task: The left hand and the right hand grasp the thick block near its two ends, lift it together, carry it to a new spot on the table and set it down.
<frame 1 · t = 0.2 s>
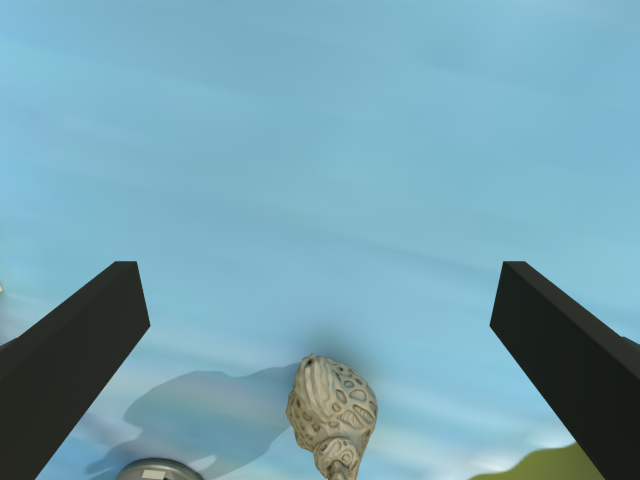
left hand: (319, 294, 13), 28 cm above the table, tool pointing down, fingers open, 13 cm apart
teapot: (332, 381, 50), on the table
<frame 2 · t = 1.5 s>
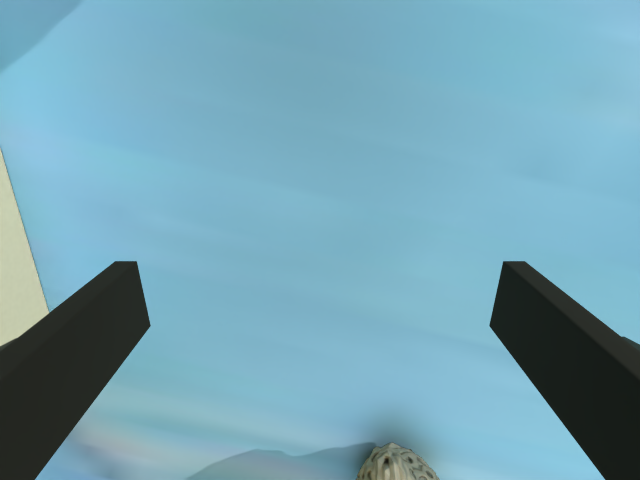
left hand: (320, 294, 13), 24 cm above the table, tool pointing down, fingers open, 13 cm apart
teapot: (391, 461, 50), on the table
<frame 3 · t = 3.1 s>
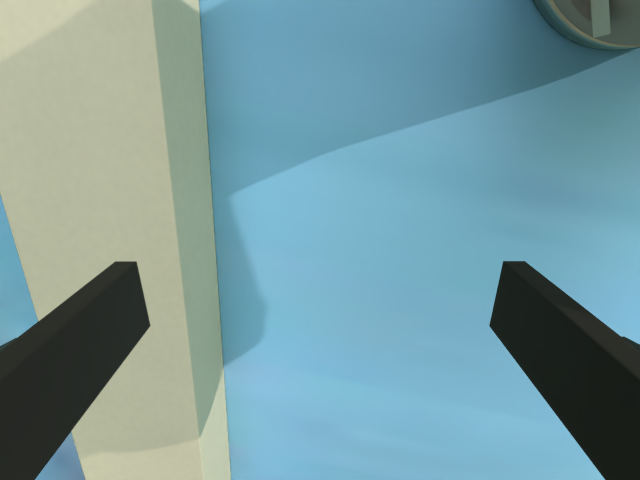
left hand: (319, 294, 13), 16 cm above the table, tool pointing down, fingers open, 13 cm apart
thick block: (168, 333, 32), on the table, touching right hand
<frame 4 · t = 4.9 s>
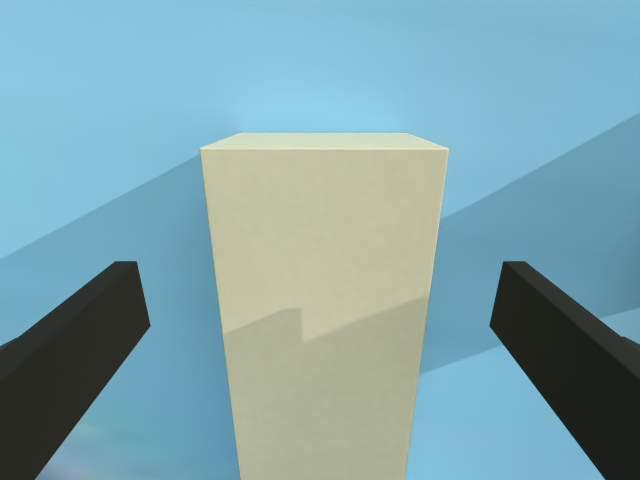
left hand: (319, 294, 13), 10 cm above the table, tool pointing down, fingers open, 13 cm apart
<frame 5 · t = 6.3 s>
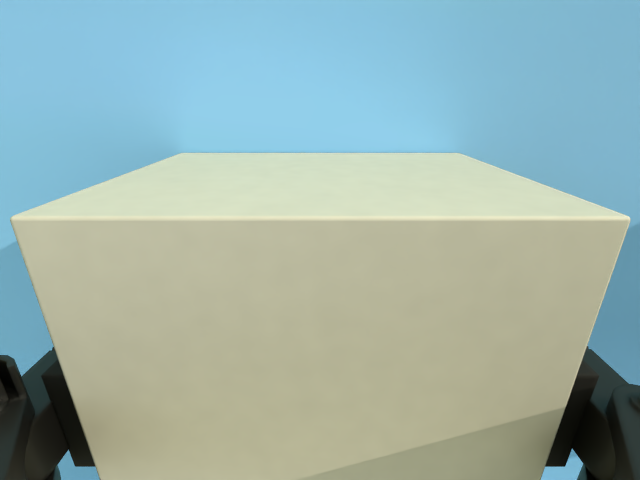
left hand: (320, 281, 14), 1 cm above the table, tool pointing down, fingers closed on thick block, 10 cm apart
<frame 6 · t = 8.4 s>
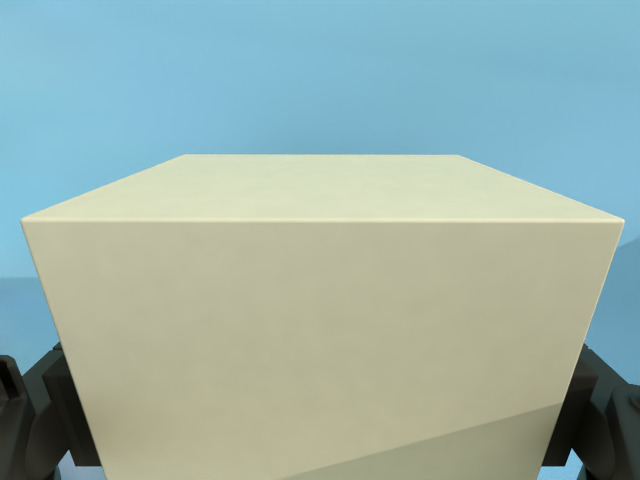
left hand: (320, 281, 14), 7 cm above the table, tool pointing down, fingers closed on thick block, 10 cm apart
when the left hand's fingers open (1 cm above the table, at t = 10.6 s): thick block stays where it is, on the table.
when the right hand's fingers open (1 cm above the table, at t = 10.6 s): thick block stays where it is, on the table.
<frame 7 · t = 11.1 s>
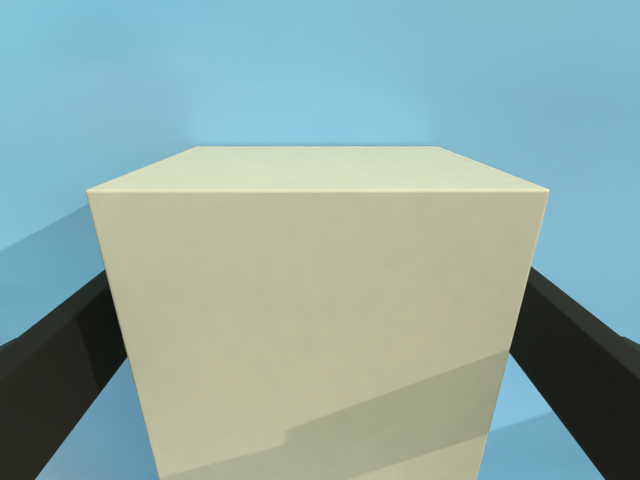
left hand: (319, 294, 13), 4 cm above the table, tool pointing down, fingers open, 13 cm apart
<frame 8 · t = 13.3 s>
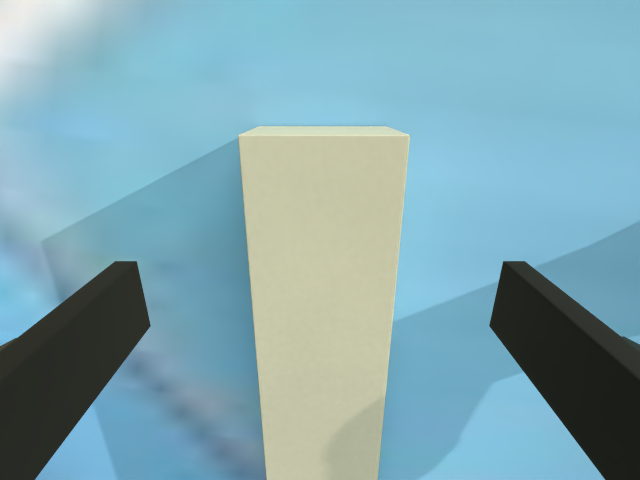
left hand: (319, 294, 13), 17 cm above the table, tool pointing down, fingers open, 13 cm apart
thick block: (321, 430, 39), on the table
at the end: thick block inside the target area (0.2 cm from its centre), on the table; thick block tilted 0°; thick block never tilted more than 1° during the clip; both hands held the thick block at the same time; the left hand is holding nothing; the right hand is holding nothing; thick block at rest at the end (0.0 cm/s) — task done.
